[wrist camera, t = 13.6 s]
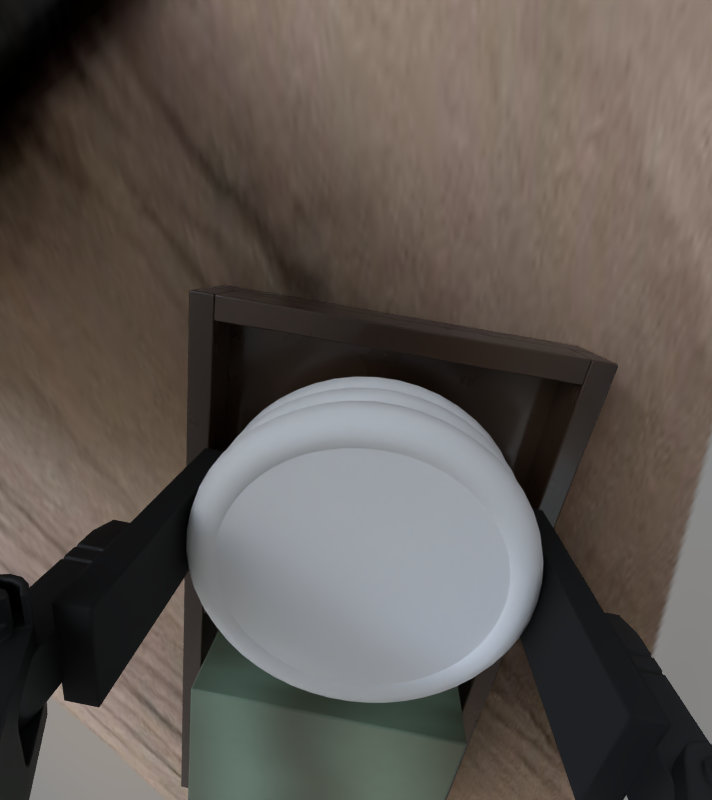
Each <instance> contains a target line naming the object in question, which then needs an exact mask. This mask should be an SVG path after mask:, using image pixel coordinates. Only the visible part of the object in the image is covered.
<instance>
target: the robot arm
mask: <svg viewBox="0 0 712 800" xmlns="http://www.w3.org/2000/svg"><path fill="white" fill-rule="evenodd" d="M223 452H224V451H219V450H214V449H209V448H205V449H204V450H203V451H202V452H201V453H200V454H199V455H198V456H197V457H196V458H195V459H194V460H193V461H192V462H191V463H190V464H189V465H188V466H187V467H186V468H185V469H184V470H183V471H182V472H181V473H180V474H179V475H178V476H177V477H176V478H175V479H174V480H173V481H172V482H171V483H170V484H169V485H168V486H167V487H166V488H165V489H164V490H163V491H162V492H161V493H160V494H159V495H158V496H157V497H156V498H155V499H154V500H153V501H152V502H151V503H150V504H149V505H148V506H147V507H146V508H145V509H144V510H143V511H142V512H141V513H140V514H139V515H138V516H137V517H136V518H135V519H134V520H133V521H132V522H131V523H128V522H122V521H117V520H112V521H110V522H108V523H106V524H104V525H103V526H101V527H99V528H97V529H95V530H93V531H92V532H91V533H90V534H88V535H87V536H86V537H85V538H84V539H83V540H82V541H81V542H80V543H79V544H78V545H77V547H74V548H73V549H72V550H71V551H70V552H69V553H67V554H66V555H65V557H64V559H61V560H60V561H59V562H57V563H56V564H55V565H54V566H53V567H52V568H51V569H50V570H49V571H48V572H46V573H45V574H44V575H43V576H42V577H41V578H40V579H39V580H38V581H36V582H35V583H34V584H33V585H32V586H31V587H30V588H29V584H28V583H27V582H26V581H25V580H24V579H23V578H22V577H20V576H16V575H12V574H1V575H0V800H29V798H30V793H31V788H32V784H33V779H34V774H35V770H36V765H37V760H38V756H39V751H40V746H41V742H42V737H43V732H44V728H45V723H46V718H47V700H48V699H49V698H50V697H51V695H52V694H53V693H54V691H55V690H56V689H57V688H58V686H59V685H60V684H61V683H62V686H63V694H64V700H66V701H70V702H75V703H80V704H85V705H90V706H95V707H100V705H101V704H102V702H103V701H104V699H105V698H106V696H107V695H108V693H109V692H110V690H111V689H112V687H113V685H114V684H115V682H116V681H117V679H118V678H119V676H120V675H121V673H122V672H123V670H124V669H125V667H126V666H127V664H128V663H129V661H130V659H131V658H132V656H133V655H134V653H135V652H136V650H137V649H138V647H139V646H140V644H141V643H142V641H143V640H144V638H145V637H146V635H147V634H148V632H149V630H150V629H151V627H152V626H153V624H154V623H155V621H156V620H157V618H158V617H159V615H160V614H161V612H162V611H163V609H164V608H165V606H166V605H167V603H168V601H169V600H170V598H171V597H172V595H173V594H174V592H175V591H176V589H177V588H178V586H179V585H180V583H181V582H182V580H183V579H184V577H185V576H186V574H187V572H188V571H189V566H188V559H187V551H186V543H187V527H188V522H189V517H190V512H191V509H192V505H193V502H194V500H195V497H196V494H197V492H198V489H199V486H200V485H201V483H202V481H203V479H204V478H205V476H206V474H207V473H208V471H209V469H210V468H211V467H212V465H213V464H214V463H215V462H216V461H217V459H218V458H219V457H220V456H221V454H222V453H223ZM532 509H533V508H532ZM533 511H534V514H535V518H536V521H537V524H538V528H539V531H540V536H541V545H542V553H543V577H542V586H541V590H540V594H539V599H538V603H537V605H536V608H535V610H534V612H533V615H532V617H531V620H530V622H529V623H528V625H527V626H526V628H525V630H524V631H523V633H522V634H521V636H520V638H521V641H522V644H523V647H524V650H525V653H526V656H527V658H528V661H529V664H530V667H531V670H532V673H533V676H534V679H535V682H536V685H537V688H538V691H539V694H540V697H541V700H542V703H543V706H544V709H545V712H546V714H547V717H548V720H549V723H550V726H551V729H552V732H553V735H554V738H555V741H556V744H557V747H558V750H559V753H560V756H561V759H562V762H563V765H564V768H565V771H566V773H567V776H568V779H569V782H570V785H571V788H572V791H573V794H574V797H575V800H623V799H624V798H625V796H626V795H627V797H628V800H712V745H711V744H710V743H709V741H708V740H707V738H706V737H705V735H704V734H703V732H702V731H701V729H700V728H699V726H698V725H697V723H696V722H695V720H694V719H693V717H692V716H691V714H690V713H689V711H688V710H687V708H686V707H685V705H684V703H683V702H682V700H681V699H680V697H679V696H678V694H677V693H676V691H675V690H674V689H673V687H672V685H671V684H670V682H669V681H668V679H667V678H666V676H665V675H663V674H662V670H661V668H660V667H659V666H658V664H657V662H656V661H655V659H654V658H651V653H650V652H649V650H648V649H647V647H646V646H645V644H644V643H643V641H642V640H641V638H640V636H639V635H638V634H637V633H636V632H635V631H634V630H633V629H632V628H631V627H630V626H629V625H628V624H627V623H626V622H625V621H624V620H623V619H622V618H621V617H620V616H619V615H616V614H610V613H605V612H603V610H602V608H601V607H600V605H599V603H598V602H597V600H596V598H595V597H594V595H593V593H592V592H591V590H590V588H589V587H588V585H587V583H586V582H585V580H584V578H583V577H582V575H581V573H580V572H579V570H578V568H577V567H576V565H575V563H574V562H573V560H572V558H571V557H570V555H569V553H568V552H567V550H566V548H565V547H564V545H563V543H562V542H561V540H560V538H559V537H558V535H557V533H556V532H555V530H554V528H553V527H552V525H551V523H550V522H549V520H548V518H547V517H546V515H545V513H544V512H543V510H539V509H533Z"/></svg>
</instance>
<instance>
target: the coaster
mask: <svg viewBox="0 0 712 800" xmlns="http://www.w3.org/2000/svg"><path fill="white" fill-rule="evenodd" d="M186 551H187V559H188V566H189V571H190V575H191V578H192V582H193V585H194V588H195V590H196V593H197V595H198V597H199V599H200V601H201V603H202V605H203V607H204V609H205V610H206V612H207V613H208V615H209V617H210V618H211V620H212V621H213V623H214V624H215V625H216V627H217V628H218V629H219V630H220V632H221V633H222V634H223V635H224V637H225V638H226V639H227V640H228V641H229V642H230V643H231V644H232V645H233V646H234V647H235V648H236V649H237V650H238V651H239V652H240V653H241V654H242V655H243V656H245V657H246V658H247V659H248V660H250V661H251V662H252V663H254V664H255V665H256V666H258V667H259V668H261V669H262V670H264V671H266V672H267V673H269V674H270V675H272V676H274V677H275V678H278V679H280V680H282V681H284V682H286V683H288V684H290V685H292V686H294V687H297V688H300V689H302V690H305V691H308V692H311V693H314V694H318V695H322V696H325V697H329V698H334V699H340V700H345V701H354V702H365V703H388V702H399V701H407V700H413V699H418V698H423V697H427V696H430V695H434V694H437V693H441V692H443V691H446V690H448V689H451V688H454V687H456V686H458V685H460V684H462V683H464V682H466V681H468V680H470V679H472V678H474V677H475V676H477V675H478V674H479V673H481V672H482V671H484V670H485V669H487V668H488V667H490V666H491V665H492V664H494V663H495V662H496V661H497V660H498V659H499V658H500V657H502V656H503V655H504V654H505V653H506V652H507V651H508V650H509V649H510V648H511V647H512V645H513V644H514V643H515V642H516V641H517V640H518V638H519V637H520V636H521V634H522V633H523V631H524V630H525V628H526V626H527V625H528V623H529V622H530V620H531V617H532V615H533V612H534V610H535V608H536V605H537V603H538V599H539V594H540V590H541V586H542V577H543V553H542V545H541V536H540V531H539V528H538V524H537V521H536V518H535V514H534V511H533V509H532V507H531V505H530V503H529V501H528V499H527V497H526V495H525V493H524V491H523V489H522V488H521V486H520V485H519V484H518V482H517V480H516V478H515V476H514V474H513V472H512V470H511V468H510V467H509V465H508V464H507V462H506V461H505V459H504V457H503V455H502V452H501V451H500V449H499V448H498V446H497V445H496V444H495V442H494V441H493V439H492V438H491V436H490V435H489V434H488V433H487V432H486V431H485V430H484V429H483V427H482V426H481V425H480V424H479V423H478V422H477V421H476V420H475V419H474V418H472V417H471V416H470V415H469V414H467V413H466V412H465V411H464V410H462V409H461V408H460V407H459V406H457V405H456V404H454V403H452V402H451V401H449V400H447V399H446V398H444V397H442V396H441V395H439V394H436V393H434V392H432V391H429V390H427V389H425V388H422V387H420V386H417V385H413V384H410V383H406V382H403V381H399V380H393V379H386V378H379V377H347V378H337V379H331V380H327V381H323V382H319V383H314V384H312V385H309V386H306V387H304V388H301V389H298V390H296V391H294V392H292V393H290V394H288V395H286V396H284V397H282V398H280V399H278V400H277V401H275V402H274V403H272V404H271V405H269V406H268V407H266V408H265V409H264V410H262V411H261V412H260V413H259V414H258V415H257V416H256V417H255V418H254V419H253V420H252V421H251V422H250V423H249V424H248V425H247V426H246V428H245V429H244V430H243V431H242V433H240V434H239V435H238V436H237V437H236V439H235V440H234V441H233V442H232V444H231V445H230V446H229V447H228V449H227V450H226V451H224V452H223V453H222V454H221V456H220V457H219V458H218V459H217V461H216V462H215V463H214V464H213V465H212V467H211V468H210V469H209V471H208V473H207V474H206V476H205V478H204V479H203V481H202V483H201V485H200V486H199V489H198V492H197V494H196V497H195V500H194V502H193V505H192V509H191V512H190V517H189V522H188V527H187V543H186Z"/></svg>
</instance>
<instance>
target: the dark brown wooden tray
mask: <svg viewBox="0 0 712 800" xmlns="http://www.w3.org/2000/svg"><path fill="white" fill-rule="evenodd" d="M617 367H618V365H617V364H616V363H613V362H611V361H609V360H607V359H605V358H602V357H600V356H598V355H596V354H594V353H592V352H590V351H588V350H585V349H583V348H581V347H579V346H574V345H568V344H562V343H557V342H551V341H545V340H539V339H533V338H528V337H522V336H516V335H510V334H505V333H499V332H493V331H487V330H482V329H476V328H470V327H464V326H458V325H453V324H447V323H441V322H435V321H430V320H424V319H418V318H412V317H406V316H401V315H395V314H389V313H383V312H378V311H372V310H366V309H360V308H354V307H349V306H343V305H337V304H331V303H326V302H320V301H314V300H308V299H303V298H297V297H291V296H285V295H279V294H274V293H268V292H262V291H256V290H251V289H245V288H239V287H233V286H227V285H222V286H215V287H208V288H201V289H194V290H190V291H189V344H188V406H187V466H188V465H189V464H190V463H191V462H192V461H193V460H194V459H195V458H196V457H197V456H198V455H199V454H200V453H201V452H202V451H203V450H204V449H205V448H209V449H214V450H219V451H226V450H227V449H228V447H229V446H230V445H231V444H232V442H233V441H234V440H235V439H236V437H237V436H238V435H239V434H240V433H242V431H243V430H244V429H245V428H246V426H247V425H248V424H249V423H250V422H251V421H252V420H253V419H254V418H255V417H256V416H257V415H258V414H259V413H260V412H261V411H262V410H264V409H265V408H266V407H268V406H269V405H271V404H272V403H274V402H275V401H277V400H278V399H280V398H282V397H284V396H286V395H288V394H290V393H292V392H294V391H296V390H298V389H301V388H304V387H306V386H309V385H312V384H314V383H319V382H323V381H327V380H331V379H337V378H347V377H379V378H386V379H393V380H399V381H403V382H406V383H410V384H413V385H417V386H420V387H422V388H425V389H427V390H429V391H432V392H434V393H436V394H439V395H441V396H442V397H444V398H446V399H447V400H449V401H451V402H452V403H454V404H456V405H457V406H459V407H460V408H461V409H462V410H464V411H465V412H466V413H467V414H469V415H470V416H471V417H472V418H474V419H475V420H476V421H477V422H478V423H479V424H480V425H481V426H482V427H483V429H484V430H485V431H486V432H487V433H488V434H489V435H490V436H491V438H492V439H493V441H494V442H495V444H496V445H497V446H498V448H499V449H500V451H501V452H502V455H503V457H504V459H505V461H506V462H507V464H508V465H509V467H510V468H511V470H512V472H513V474H514V476H515V478H516V480H517V482H518V484H519V485H520V486H521V488H522V489H523V491H524V493H525V495H526V497H527V499H528V501H529V503H530V505H531V507H532V508H533V509H539V510H543V512H544V513H545V515H546V517H547V518H548V520H549V522H550V523H551V525H552V527H553V528H554V527H555V524H556V521H557V519H558V516H559V514H560V511H561V509H562V506H563V504H564V501H565V499H566V496H567V494H568V491H569V489H570V486H571V484H572V481H573V479H574V476H575V473H576V471H577V468H578V466H579V463H580V461H581V458H582V456H583V453H584V451H585V448H586V446H587V443H588V441H589V438H590V436H591V433H592V431H593V428H594V426H595V423H596V420H597V418H598V415H599V413H600V410H601V408H602V405H603V403H604V400H605V398H606V395H607V393H608V390H609V388H610V385H611V383H612V380H613V378H614V375H615V373H616V370H617ZM502 658H503V656H502V657H500V658H499V659H498V660H497V661H496V662H495V663H494V664H492V665H491V666H490V667H488V668H487V669H485V670H484V671H482V672H481V673H479V674H478V675H477V676H475V677H474V678H472V679H470V680H468V681H466V682H464V683H462V684H460V685H458V686H456V687H454V688H451V689H448V690H446V691H443V692H441V693H437V694H434V695H430V696H427V697H423V698H418V699H413V700H407V701H399V702H388V703H365V702H354V701H345V700H340V699H334V698H329V697H325V696H322V695H318V694H314V693H311V692H308V691H305V690H302V689H300V688H297V687H294V686H292V685H290V684H288V683H286V682H284V681H282V680H280V679H278V678H275V677H274V676H272V675H270V674H269V673H267V672H266V671H264V670H262V669H261V668H259V667H258V666H256V665H255V664H254V663H252V662H251V661H250V660H248V659H247V658H246V657H245V656H243V655H242V654H241V653H240V652H239V651H238V650H237V649H236V648H235V647H234V646H233V645H232V644H231V643H230V642H229V641H228V640H227V639H226V638H225V637H224V635H223V634H222V633H221V632H220V630H219V629H218V628H217V627H216V625H215V624H214V623H213V621H212V620H211V618H210V617H209V615H208V613H207V612H206V610H205V609H204V607H203V605H202V603H201V601H200V599H199V597H198V595H197V593H196V590H195V588H194V585H193V582H192V578H191V575H190V571H188V572H187V574H186V576H185V594H184V656H183V718H182V781H181V786H182V787H187V788H188V800H446V799H447V797H448V794H449V792H450V789H451V787H452V784H453V781H454V779H455V776H456V774H457V771H458V769H459V766H460V764H461V761H462V759H463V756H464V754H465V751H466V749H467V746H468V744H469V741H470V739H471V736H472V734H473V731H474V728H475V726H476V723H477V721H478V718H479V716H480V713H481V711H482V708H483V706H484V703H485V701H486V698H487V696H488V693H489V691H490V688H491V686H492V683H493V680H494V678H495V675H496V673H497V670H498V668H499V665H500V663H501V660H502Z"/></svg>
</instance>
